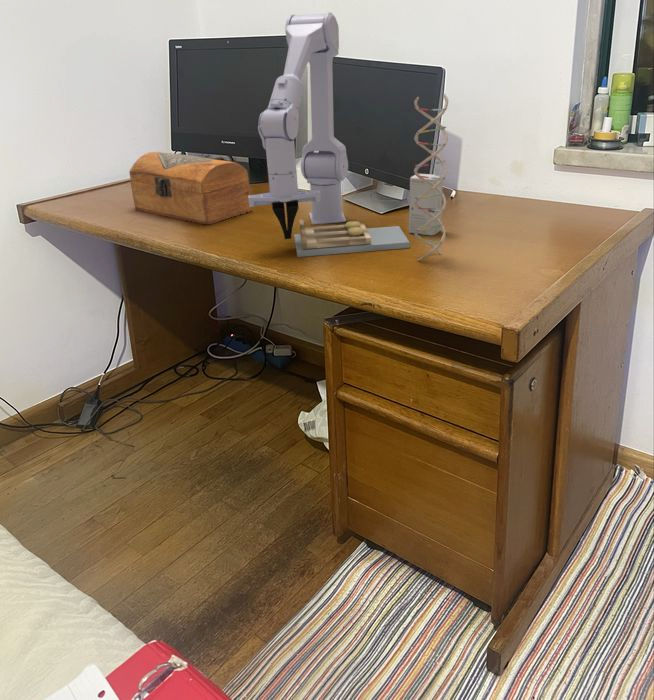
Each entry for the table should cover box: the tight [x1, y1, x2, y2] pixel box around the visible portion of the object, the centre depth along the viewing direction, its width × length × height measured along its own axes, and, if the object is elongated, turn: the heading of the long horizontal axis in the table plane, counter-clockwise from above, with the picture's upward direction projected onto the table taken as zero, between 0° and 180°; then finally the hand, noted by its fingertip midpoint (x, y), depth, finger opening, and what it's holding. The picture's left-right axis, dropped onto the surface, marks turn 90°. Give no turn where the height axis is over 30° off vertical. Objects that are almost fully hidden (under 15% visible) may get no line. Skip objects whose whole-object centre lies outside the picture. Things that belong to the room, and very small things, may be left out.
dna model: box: [413, 93, 449, 262], centre depth 128 cm, size 7×6×30 cm
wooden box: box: [129, 151, 253, 226], centre depth 175 cm, size 30×16×14 cm, turn 48°
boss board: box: [293, 220, 411, 258], centre depth 144 cm, size 12×23×4 cm, turn 95°
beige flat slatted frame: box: [299, 218, 371, 249], centre depth 144 cm, size 11×14×3 cm
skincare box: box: [408, 173, 444, 236], centre depth 147 cm, size 6×4×12 cm
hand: (287, 237), depth 143 cm, fingers closed
